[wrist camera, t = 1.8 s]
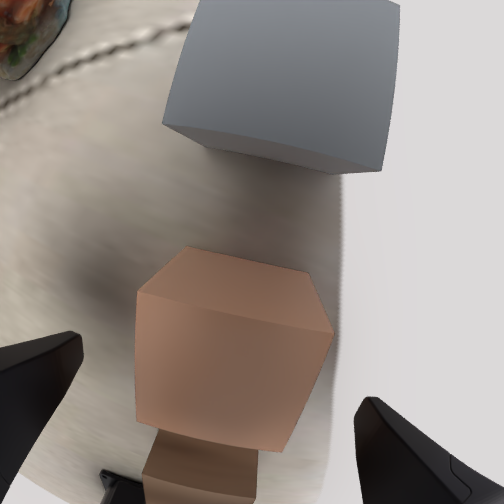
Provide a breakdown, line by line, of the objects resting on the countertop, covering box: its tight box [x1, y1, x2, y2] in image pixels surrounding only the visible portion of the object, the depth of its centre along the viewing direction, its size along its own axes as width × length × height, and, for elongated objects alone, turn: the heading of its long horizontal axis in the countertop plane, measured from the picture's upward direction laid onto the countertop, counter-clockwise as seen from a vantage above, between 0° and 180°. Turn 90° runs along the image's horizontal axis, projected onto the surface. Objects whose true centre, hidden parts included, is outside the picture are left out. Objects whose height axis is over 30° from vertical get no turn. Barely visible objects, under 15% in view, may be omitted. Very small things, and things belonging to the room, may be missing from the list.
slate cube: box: [162, 0, 400, 175], centre depth 8 cm, size 5×5×5 cm
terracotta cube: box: [135, 246, 335, 452], centre depth 10 cm, size 5×5×5 cm
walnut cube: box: [142, 429, 258, 504], centre depth 12 cm, size 5×5×5 cm
